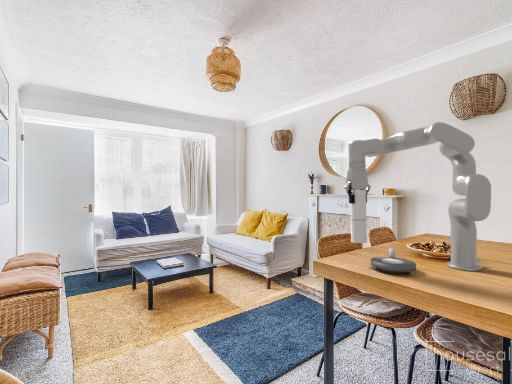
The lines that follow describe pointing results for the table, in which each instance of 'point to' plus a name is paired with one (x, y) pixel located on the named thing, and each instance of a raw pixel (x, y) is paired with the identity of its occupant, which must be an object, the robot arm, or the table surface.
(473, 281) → the table surface
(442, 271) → the table surface
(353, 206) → the cylindrical container
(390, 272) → the turntable base
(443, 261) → the table surface
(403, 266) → the disc
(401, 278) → the table surface
